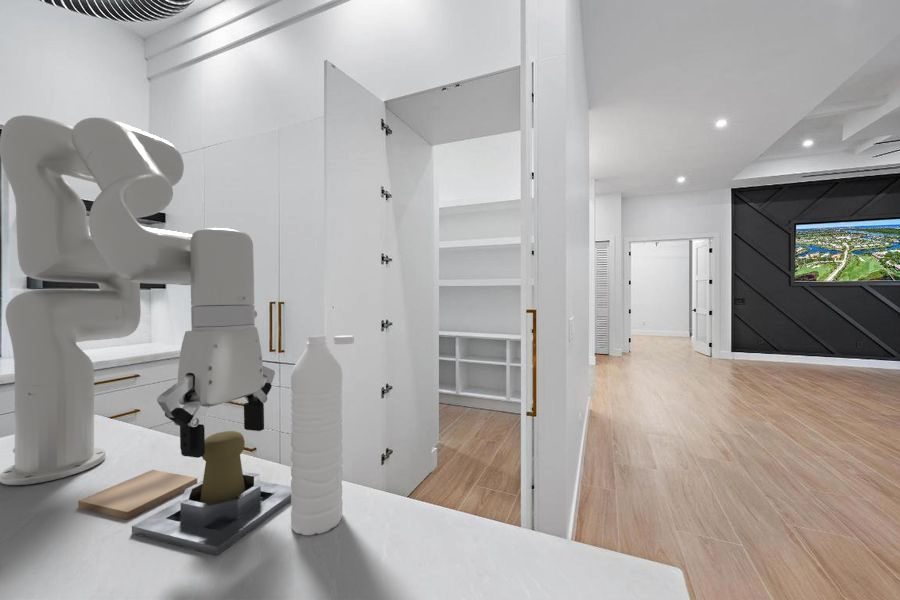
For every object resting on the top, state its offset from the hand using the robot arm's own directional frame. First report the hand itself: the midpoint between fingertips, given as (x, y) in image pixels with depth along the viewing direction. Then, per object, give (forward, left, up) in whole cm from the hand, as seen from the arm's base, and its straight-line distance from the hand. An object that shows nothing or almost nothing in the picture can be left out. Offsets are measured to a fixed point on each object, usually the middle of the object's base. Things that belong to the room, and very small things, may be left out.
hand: (226, 441), depth 51 cm
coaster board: (-17, 0, -10) cm, 19 cm away
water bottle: (+14, +2, -10) cm, 18 cm away
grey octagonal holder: (-1, 0, -10) cm, 10 cm away
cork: (-1, 0, -10) cm, 10 cm away
